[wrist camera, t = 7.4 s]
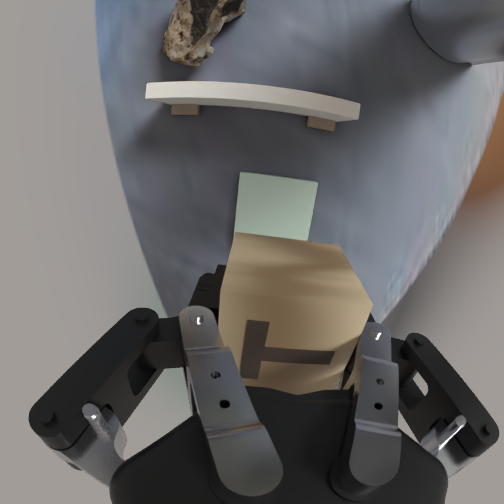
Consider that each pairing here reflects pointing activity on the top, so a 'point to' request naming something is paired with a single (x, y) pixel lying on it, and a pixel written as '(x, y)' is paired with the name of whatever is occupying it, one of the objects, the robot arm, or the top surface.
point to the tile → (274, 205)
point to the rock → (197, 28)
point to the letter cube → (290, 312)
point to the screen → (254, 100)
